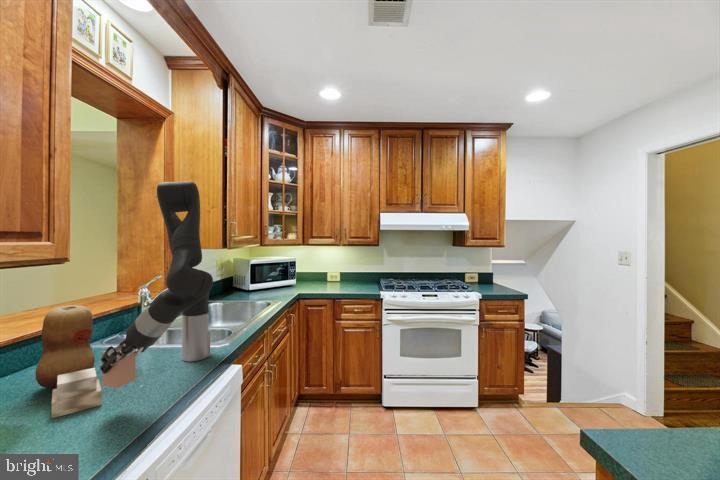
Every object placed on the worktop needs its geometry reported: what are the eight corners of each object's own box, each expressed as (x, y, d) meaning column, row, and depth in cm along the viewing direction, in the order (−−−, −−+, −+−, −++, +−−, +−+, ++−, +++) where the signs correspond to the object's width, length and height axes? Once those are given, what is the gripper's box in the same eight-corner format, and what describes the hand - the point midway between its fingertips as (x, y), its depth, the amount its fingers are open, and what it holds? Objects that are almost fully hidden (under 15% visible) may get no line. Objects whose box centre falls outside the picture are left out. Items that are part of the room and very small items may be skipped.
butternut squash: (61, 398, 92) (61, 312, 92) (23, 394, 94) (23, 310, 94) (106, 377, 106) (106, 302, 106) (71, 375, 108) (72, 301, 108)
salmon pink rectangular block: (120, 377, 88) (120, 345, 88) (135, 379, 87) (135, 346, 87) (102, 386, 83) (102, 351, 83) (118, 387, 82) (118, 353, 82)
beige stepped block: (98, 392, 96) (98, 365, 96) (101, 404, 89) (101, 376, 89) (52, 403, 89) (52, 375, 89) (51, 418, 82) (51, 387, 82)
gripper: (164, 308, 90) (129, 346, 93) (116, 321, 76) (76, 366, 79) (180, 327, 90) (144, 366, 92) (135, 344, 75) (94, 390, 78)
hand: (113, 366), depth 85 cm, fingers closed on salmon pink rectangular block, 5 cm apart
